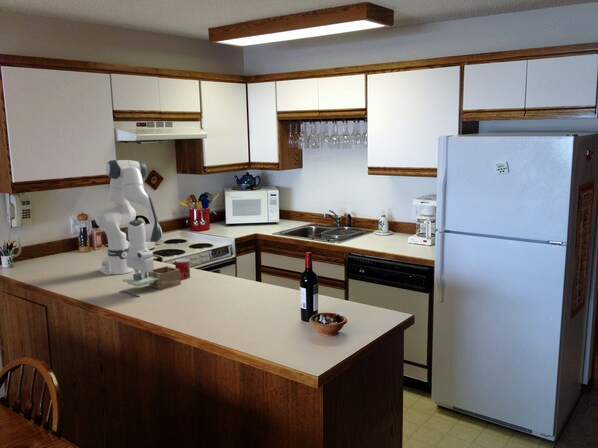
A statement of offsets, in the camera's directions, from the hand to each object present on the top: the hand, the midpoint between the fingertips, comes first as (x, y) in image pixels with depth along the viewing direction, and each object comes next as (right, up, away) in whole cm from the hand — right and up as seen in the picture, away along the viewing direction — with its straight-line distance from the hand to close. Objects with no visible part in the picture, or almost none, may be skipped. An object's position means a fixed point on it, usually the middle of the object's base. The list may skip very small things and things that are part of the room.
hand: (140, 277), depth 286 cm
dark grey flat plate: (0, -7, +1) cm, 7 cm away
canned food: (+18, -3, +23) cm, 29 cm away
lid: (0, -3, 0) cm, 3 cm away
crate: (+11, -5, +9) cm, 15 cm away
